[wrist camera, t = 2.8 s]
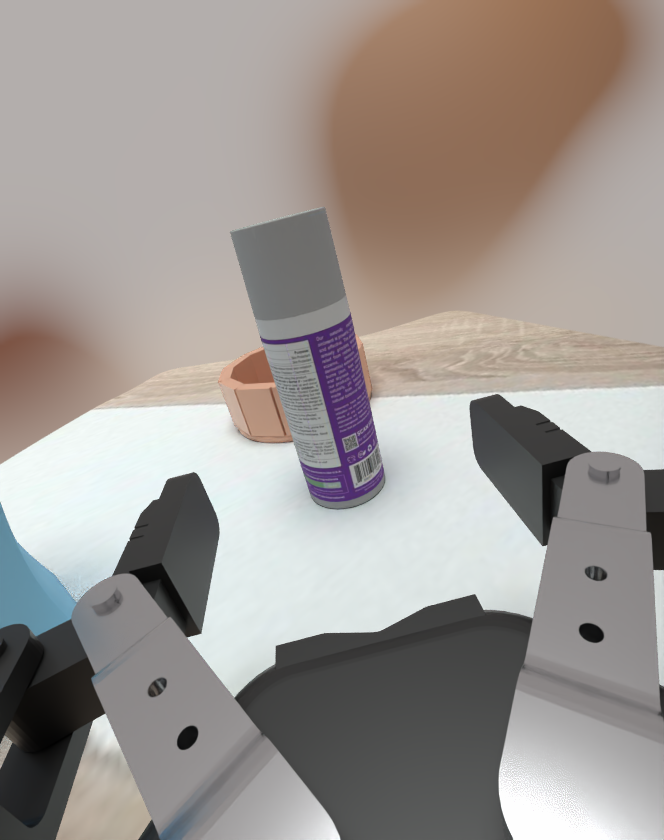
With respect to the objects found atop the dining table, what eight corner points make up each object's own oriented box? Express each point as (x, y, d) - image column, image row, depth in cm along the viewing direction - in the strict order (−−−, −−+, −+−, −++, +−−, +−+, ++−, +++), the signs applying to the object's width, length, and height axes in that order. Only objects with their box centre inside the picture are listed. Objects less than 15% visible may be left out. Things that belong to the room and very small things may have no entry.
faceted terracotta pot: (358, 366, 43) (349, 322, 41) (385, 417, 32) (373, 361, 30) (243, 396, 43) (227, 354, 41) (231, 457, 32) (209, 404, 30)
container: (372, 453, 28) (317, 207, 22) (396, 493, 24) (338, 203, 18) (304, 475, 28) (227, 231, 21) (317, 519, 24) (226, 233, 17)
